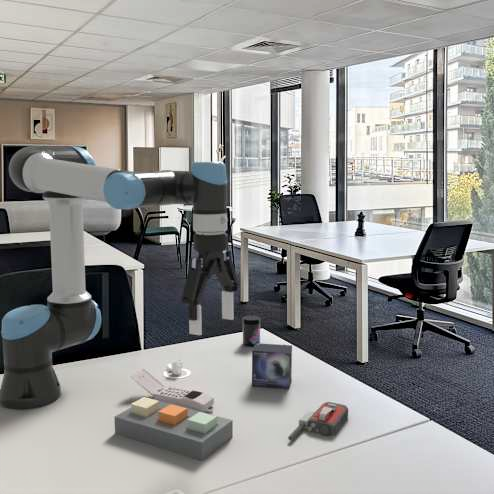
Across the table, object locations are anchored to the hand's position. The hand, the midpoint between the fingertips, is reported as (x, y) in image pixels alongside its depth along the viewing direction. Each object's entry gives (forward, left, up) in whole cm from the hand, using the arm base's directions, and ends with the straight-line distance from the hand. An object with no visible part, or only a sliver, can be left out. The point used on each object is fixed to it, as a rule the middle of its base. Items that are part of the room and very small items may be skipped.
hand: (212, 326), depth 133 cm
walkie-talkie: (+21, +13, -25) cm, 35 cm away
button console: (-6, -7, -24) cm, 26 cm away
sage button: (+2, -7, -23) cm, 24 cm away
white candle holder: (-28, +27, -25) cm, 46 cm away
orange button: (-6, -7, -23) cm, 25 cm away
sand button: (-14, -7, -23) cm, 28 cm away
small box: (-1, +31, -25) cm, 39 cm away
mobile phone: (-17, +8, -25) cm, 31 cm away
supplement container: (-23, +58, -25) cm, 67 cm away
